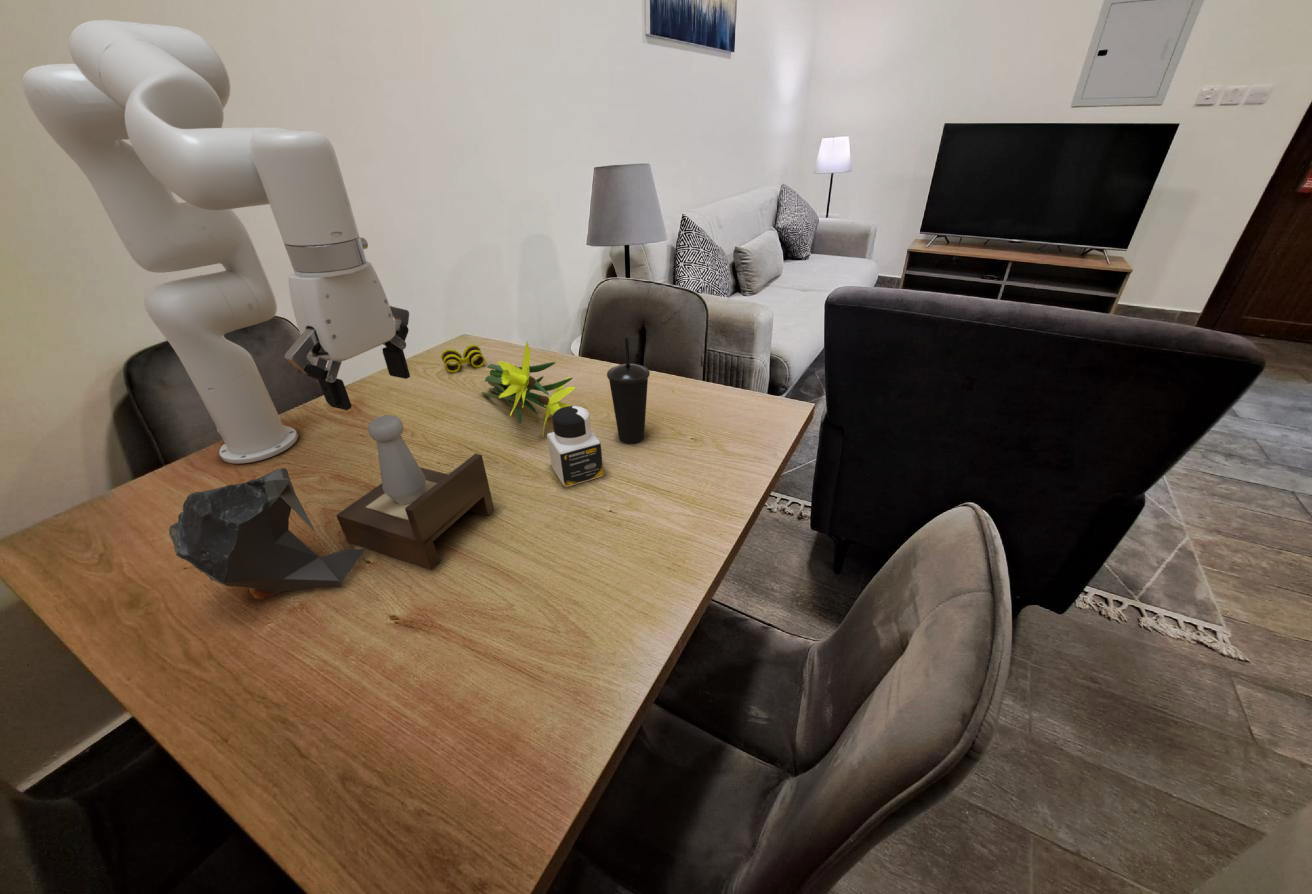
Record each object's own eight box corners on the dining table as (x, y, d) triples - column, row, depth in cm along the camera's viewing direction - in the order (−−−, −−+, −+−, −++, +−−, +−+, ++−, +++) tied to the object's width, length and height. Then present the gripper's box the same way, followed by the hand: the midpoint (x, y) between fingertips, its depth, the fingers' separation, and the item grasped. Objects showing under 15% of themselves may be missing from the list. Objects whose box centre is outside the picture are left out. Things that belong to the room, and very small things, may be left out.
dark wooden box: (347, 541, 78) (322, 484, 72) (416, 489, 89) (399, 435, 83) (431, 570, 73) (411, 510, 67) (494, 510, 84) (481, 454, 78)
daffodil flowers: (541, 381, 127) (611, 395, 98) (500, 427, 123) (560, 456, 95) (488, 329, 118) (548, 329, 89) (443, 378, 115) (490, 393, 86)
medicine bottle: (564, 488, 88) (556, 426, 82) (551, 467, 94) (542, 407, 87) (604, 476, 91) (598, 415, 85) (589, 457, 96) (582, 398, 90)
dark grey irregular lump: (270, 547, 78) (214, 443, 69) (372, 547, 78) (329, 442, 68) (196, 625, 66) (116, 512, 56) (316, 626, 65) (255, 512, 56)
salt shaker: (437, 488, 80) (415, 413, 73) (411, 511, 75) (384, 433, 68) (406, 482, 82) (381, 407, 75) (378, 504, 77) (349, 426, 70)
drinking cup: (646, 449, 98) (643, 347, 87) (607, 446, 99) (598, 345, 89) (655, 429, 104) (652, 331, 94) (617, 426, 106) (611, 329, 95)
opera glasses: (447, 377, 130) (443, 359, 127) (443, 366, 133) (439, 349, 130) (487, 369, 134) (484, 352, 131) (481, 358, 137) (478, 341, 134)
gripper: (365, 239, 68) (400, 362, 77) (230, 271, 55) (291, 415, 64) (410, 244, 66) (440, 370, 75) (280, 278, 52) (337, 427, 62)
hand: (372, 391), depth 69 cm, fingers open, 9 cm apart
